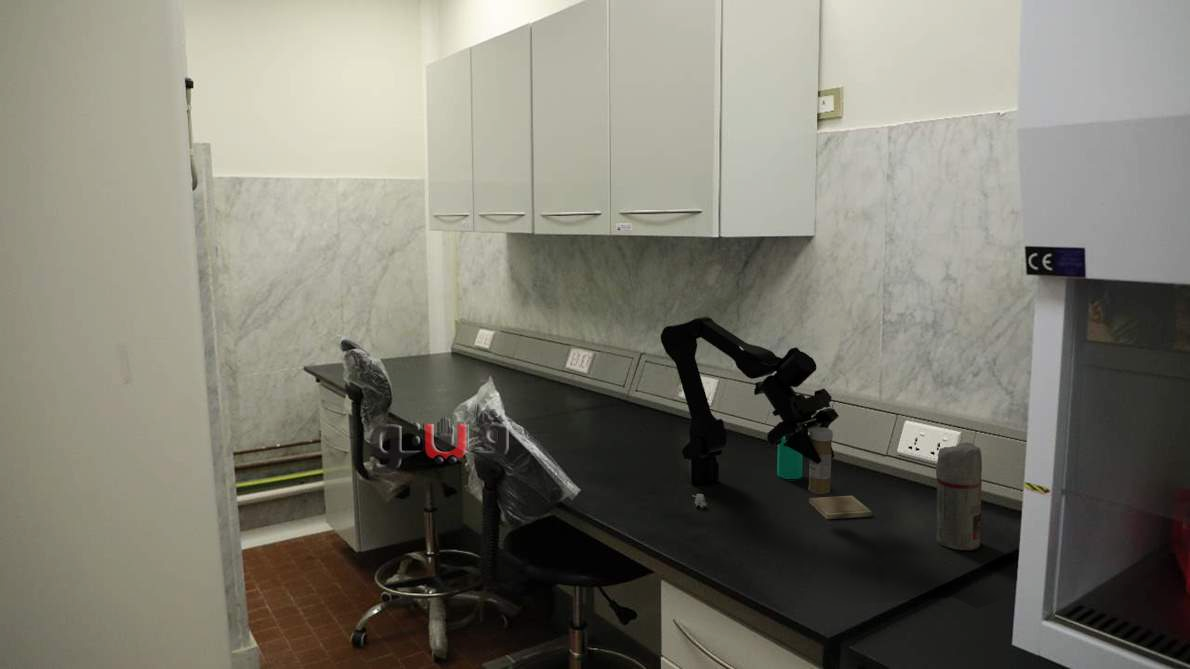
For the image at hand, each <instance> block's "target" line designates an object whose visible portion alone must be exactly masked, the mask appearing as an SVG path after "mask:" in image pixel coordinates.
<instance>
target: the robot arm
mask: <svg viewBox="0 0 1190 669" xmlns="http://www.w3.org/2000/svg"><path fill="white" fill-rule="evenodd" d="M700 338H701V339H703V340H705V342H707V343H709V344H710V345H711V346H713V347H715V348H716V349H717V350H718V351H720V352H722V353H723V354H725V355H726V356H728V357H729V358H730V359H731V360H732V361H734V364H736V365H735V366H736V368H737V369H738V370H739V371H740V372H741V373H742V374H743V375H744V376H746V378H749V379H751V380H752V379H755V380H756V379H757V378H758V379H759V378H763V377H765V378H764V379H763V380H762V381H758V382H755V383H754V384H755V385H754V386H755V387H754V390H753V394H754V396H758V395H761V394H764V395H765V397H766V399H767V400H768V401H769V403H770V404H771V406H772V408H773V409H774V410H773V411H772V412H771V413H772V415H773V416H774V417H777V416H779V417H780V419H781V420H782V421H780V422H778V423H777V424H776V425H775V426H774V427H773V428H772V429H771V430H769V431H768V432H767V433H766V440H767V442H768V444H769V445H770V446H771V447H776V446H778V445H779V444H781V439H782V438H783V437H784V436H785V437H786V438H785V439H786V441H787V442H785V443H784V444H783V445H784V446H785V447H786V446H787V447H789V448H791V449H793V450H795V451H797V452H799V453H800V454H802V455H803V456H804V457H805V458H806V459H809V461H810V460H812V461H814V462H815V463H817V464H819V463H820V462H821V459H820V457H819V455H818V453H817V451H816V450H815V448H814V446H813V445H812V443H811V438H810V430H811V429H812V428H816V427H823V428H828V429H830V428H829V427H830V425H831V424H832V423H833V422H835V420H837V419H838V418H839V416H840V415H839V414H838V412H836V409H834V408H833V407H832V408H831V404H830V403H831V402H832V399H833V397H832V395H830V393H829V392H828V391H827V390H826V388H821V389H819V390H815V391H814V395H812V396H808V397H806V396H805V395H804V394H802V393H801V394H797V393H796V391H795V390H794V389H793V388H799V387H800V386H801V385H802V384H804V382H805V381H806V380H807V379H808V378H810V376H812V375H813V374H814V373H815V372H816V370H817V368H818V367H817V363H816V361H815V360H814V358H813V357H812V356H810V355H809V354H807V353H806V352H804V351H801V350H800V349H799V348H798V347H797V346H796V347H792V348H791V347H790V349H789V350H788V351H787V352H786V354H785V355H784V356H783V357H780V356H777V355H776V353H774V352H773V351H772V350H770V349H767V348H765V347H762V346H760V345H759V346H758V345H756V344H755V345H754V344H751V343H747V342H745V341H744V340H742V339H741V338H739V337H738V336H736V335H735V334H733V333H732V332H730V331H728V330H727V329H726V328H724V327H723V326H721V325H720V324H718V323H716V322H715V321H714V319H712V318H711V317H709V316H703V317H696V318H693V319H692V320H689V321H687V322H685V323H680V324H679V323H678V324H674V325H672V324H671V325H667V326H665V327H664V328H663V329H662V332H661V334H660V342H661V344H662V347H663V349H664V350H665V354H666V355H668V357H669V358H670V359H671V360H672V361H673V362H674V363H675V368H676V370H677V373H678V377H679V380H680V384H681V387H682V391H683V394H684V397H685V401H686V404H687V407H688V411H689V414H690V418H691V422H690V426H689V431H688V432H689V433H688V434H689V442H688V443H687V444H686V445H685V446H684V447H683V448H682V449H681V451H682V452H681V453H682V455H683V459H686V460H688V474H687V475H686V478H687V480H688V482H689V483H690V484H691V485H692V486H709V485H719V483H720V482H719V481H718V480H719V479H720V478H719V477H720V472H719V471H720V470H719V469H720V467H719V466H720V464H719V462H718V460H717V459H718V458H717V456H721V455H722V453H723V450H724V448H725V447H726V444H727V442H728V440H727V436H728V433H727V431H726V429H725V428H726V427H725V424H724V423H725V422H724V420H723V419H722V418H718V419H717V418H716V417H715V416H714V414H712V411H711V408H710V405H709V404H710V403H709V400H708V397H707V394H706V391H705V387H704V383H703V381H702V377H701V373H700V371H699V367H698V362H697V360H696V353H697V349H698V340H697V339H700ZM824 408H825V409H824ZM834 457H835V454H834V450H833V446H832V445H831V460H832V459H833V458H834Z"/></svg>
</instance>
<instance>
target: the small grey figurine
mask: <svg viewBox="0 0 1190 669" xmlns="http://www.w3.org/2000/svg"><path fill="white" fill-rule="evenodd" d="M692 497H694V498H695V499H694V500H695V501H694V504H695V508H696V507H697V506H698V507H699V506H700V509H701V508H702V507H703V506H706V507H707V502H705V501H706V500H705V498H706V497H705V495H704V494H702V493H696V495H692ZM698 507H697V508H698ZM703 508H704V507H703ZM703 508H702V509H703Z"/></svg>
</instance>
